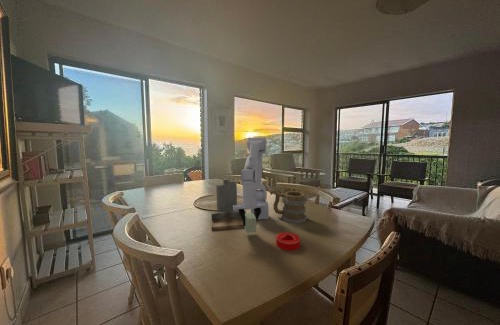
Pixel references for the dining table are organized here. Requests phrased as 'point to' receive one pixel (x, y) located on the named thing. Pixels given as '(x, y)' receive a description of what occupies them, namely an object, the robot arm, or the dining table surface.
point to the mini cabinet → (250, 223)
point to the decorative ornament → (288, 241)
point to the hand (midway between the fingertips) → (249, 224)
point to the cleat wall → (226, 220)
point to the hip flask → (226, 195)
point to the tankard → (291, 206)
